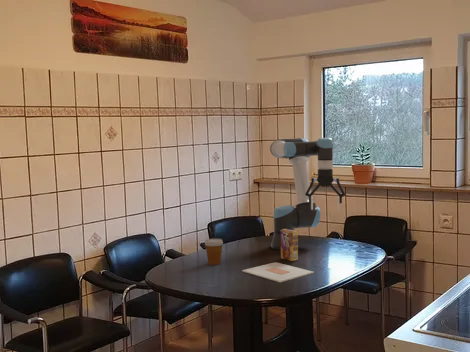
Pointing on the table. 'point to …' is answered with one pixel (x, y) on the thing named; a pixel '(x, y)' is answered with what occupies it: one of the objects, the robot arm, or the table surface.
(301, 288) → the table surface
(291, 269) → the mat
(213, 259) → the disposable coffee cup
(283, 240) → the candy box
